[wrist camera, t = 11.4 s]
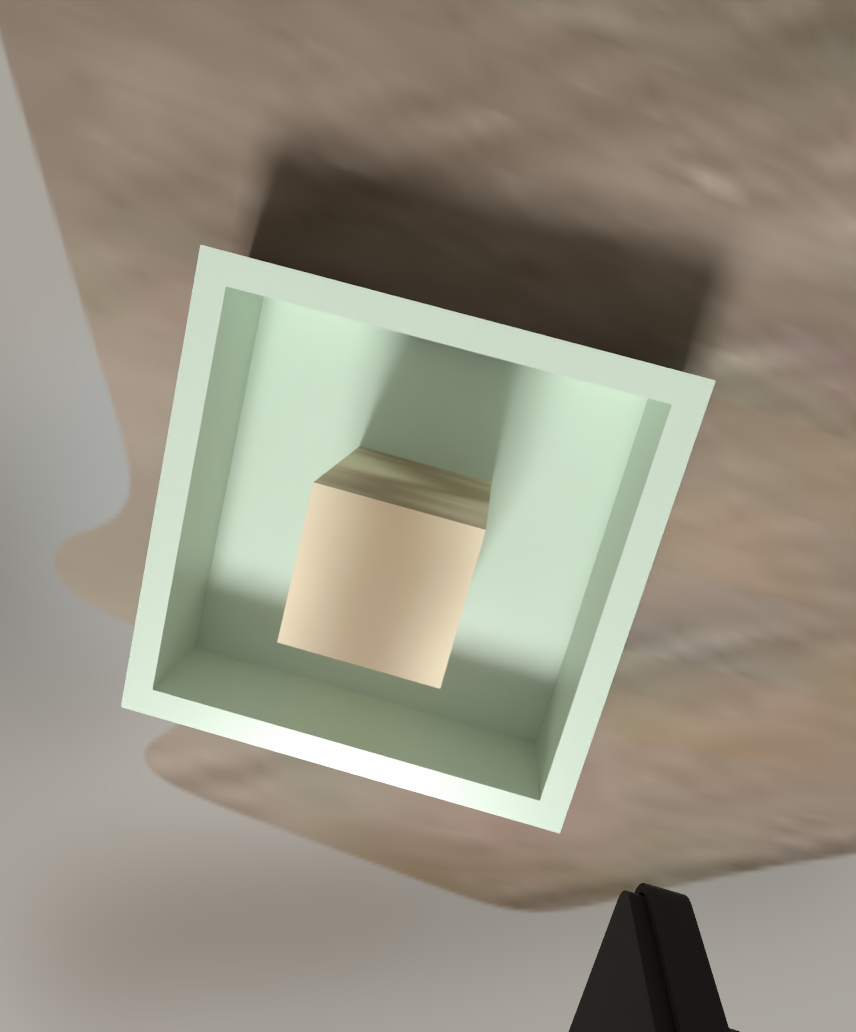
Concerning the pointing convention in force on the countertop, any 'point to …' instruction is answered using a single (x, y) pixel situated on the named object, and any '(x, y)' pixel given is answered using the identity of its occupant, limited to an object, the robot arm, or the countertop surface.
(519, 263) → the countertop surface
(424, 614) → the beech block
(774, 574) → the countertop surface
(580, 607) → the bin
